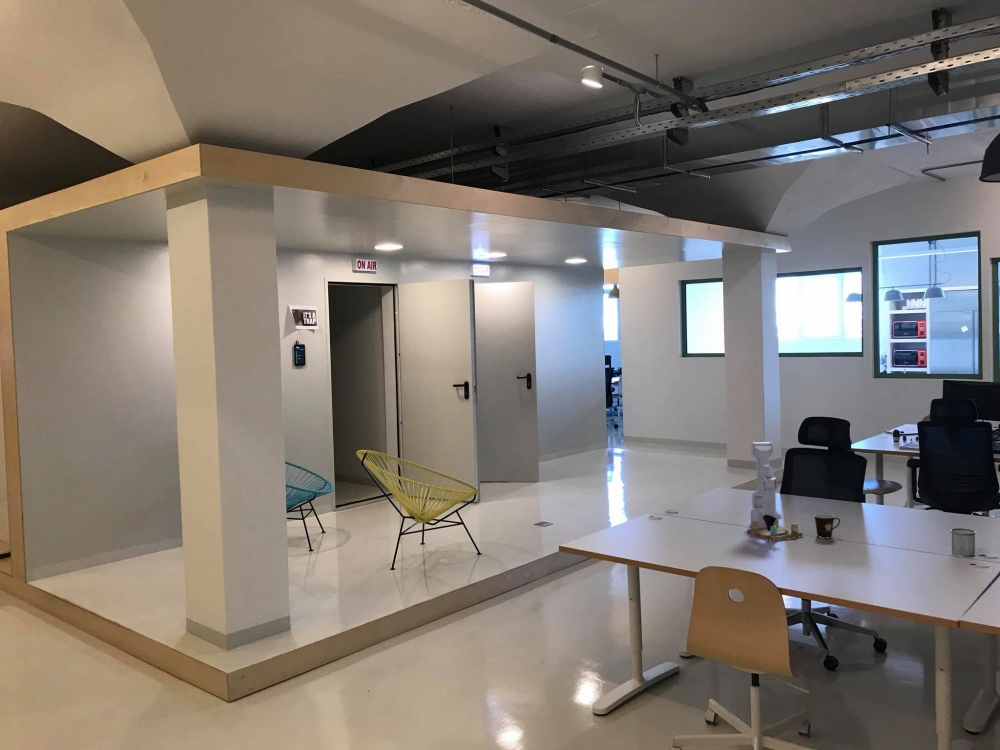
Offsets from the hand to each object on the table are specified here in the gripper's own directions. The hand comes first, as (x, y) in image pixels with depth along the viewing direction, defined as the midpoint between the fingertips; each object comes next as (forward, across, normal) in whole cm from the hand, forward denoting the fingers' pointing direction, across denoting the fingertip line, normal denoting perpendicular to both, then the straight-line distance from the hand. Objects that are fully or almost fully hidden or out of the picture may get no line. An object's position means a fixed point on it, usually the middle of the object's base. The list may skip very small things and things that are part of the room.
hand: (769, 530), depth 368 cm
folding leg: (+1, -2, -4) cm, 5 cm away
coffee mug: (+4, -9, -26) cm, 28 cm away
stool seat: (+4, +4, -6) cm, 9 cm away
